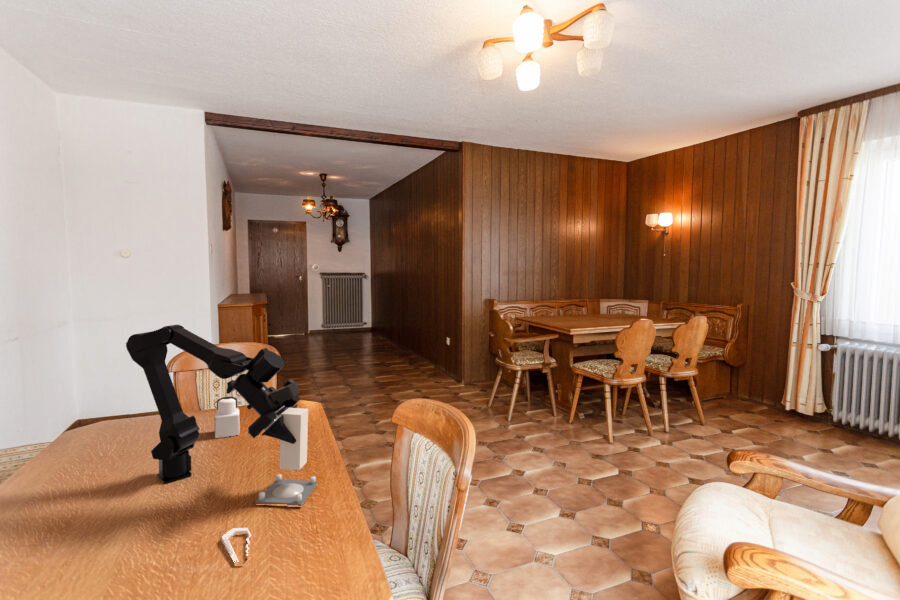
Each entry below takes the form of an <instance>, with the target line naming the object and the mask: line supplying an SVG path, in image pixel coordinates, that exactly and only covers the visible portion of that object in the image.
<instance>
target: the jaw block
mask: <svg viewBox="0 0 900 600" xmlns="http://www.w3.org/2000/svg"><path fill="white" fill-rule="evenodd" d="M282 415H283V417H284V424H285V426H286V427H287V428H288V430H289V431H290V432H291V433H292V435H293V436H294V437H295V439H296V442H295V443H294V444H292V443H289V442H286V441H283V440H280V439H279V441H280V443H279V470H291V471H301V470H302V468H303V467H304V466H305V465H306V464H307V462H308V438H309V437H308V436H309V434H308V433H309V432H308V431H309V430H308V428H309V408H300V407H297V408H288V409H287V410H285V411H284V412H283V413H281V416H282Z"/></svg>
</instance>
